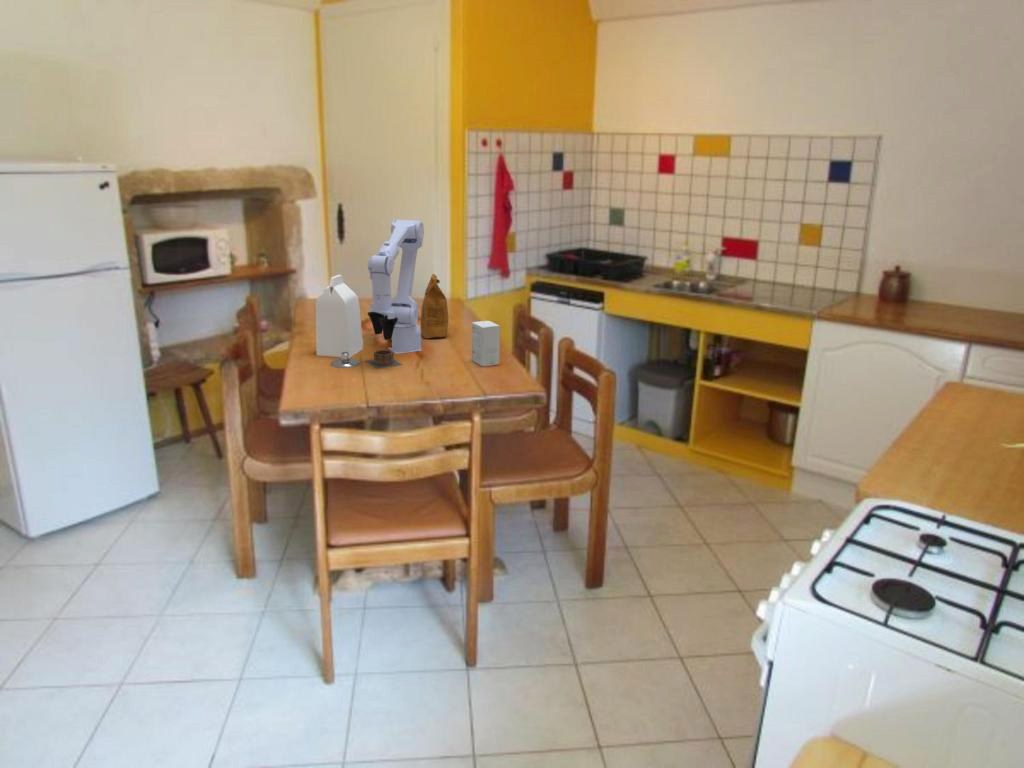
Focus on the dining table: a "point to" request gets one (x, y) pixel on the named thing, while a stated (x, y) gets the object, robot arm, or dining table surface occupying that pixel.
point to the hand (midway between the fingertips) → (383, 336)
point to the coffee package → (434, 311)
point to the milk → (338, 320)
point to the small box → (485, 343)
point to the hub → (345, 361)
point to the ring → (383, 357)
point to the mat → (383, 366)
